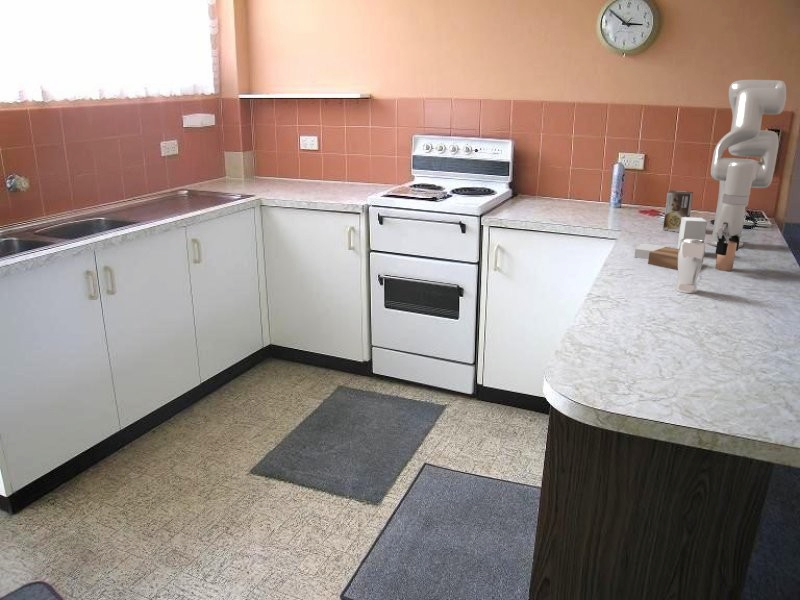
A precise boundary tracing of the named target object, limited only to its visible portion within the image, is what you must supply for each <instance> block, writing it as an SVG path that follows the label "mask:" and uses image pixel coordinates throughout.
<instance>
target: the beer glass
mask: <svg viewBox="0 0 800 600" xmlns="http://www.w3.org/2000/svg"><path fill="white" fill-rule="evenodd" d="M705 250H706V241H705V240H704V241H703V240H699V239H690V238H687V239H681V243H680V247H679V252H678V270H677V281H676V284H675V286H674V290H675V291H677V292H678V291H679V293H682V292H683V294H695V292H696V293H697V291H698V286H697V285H698V283H697V282H698V277H699V274H700V272H701V268H702V267H703V262H704V258H705Z"/></svg>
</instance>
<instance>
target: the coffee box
mask: <svg viewBox="0 0 800 600" xmlns="http://www.w3.org/2000/svg"><path fill="white" fill-rule="evenodd" d="M666 194H667V195H666V203H665V209H664V210H665V211H664V218H663V226H662V231H663V230H668V231H667V232H672V231H675V232H674V233H679V232H680V225H681V219H682V217H691V211H692V204H693V203H692V202H693V196H694V192H693V191H687V190H686V191H685V190H684V191H683V190H671V189H670V190H669V191H667V193H666Z"/></svg>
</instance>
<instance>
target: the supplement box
mask: <svg viewBox="0 0 800 600" xmlns="http://www.w3.org/2000/svg"><path fill="white" fill-rule="evenodd" d="M707 224H708V221H707V220H706V219H704V218H703V217H692V216H690V217H682V219H681V225H680V232H678V240H677V246H676V249H679V247H680V243H681V239H687V238H690V239H699V240H703V241H705V238H706V231H707Z"/></svg>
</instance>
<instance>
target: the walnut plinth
mask: <svg viewBox="0 0 800 600" xmlns="http://www.w3.org/2000/svg"><path fill="white" fill-rule="evenodd" d="M670 247H671V246H667V247H664V248H661V249H658V250H655V251H652V252H649V259H647V261H648V262H647V264H648V265H650V266H651V265H652V266H656V267H662V268H665V269H666V268H667V269H672V270H676V271H678V252H679V249H677V248H674V247H671V248H670Z"/></svg>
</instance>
